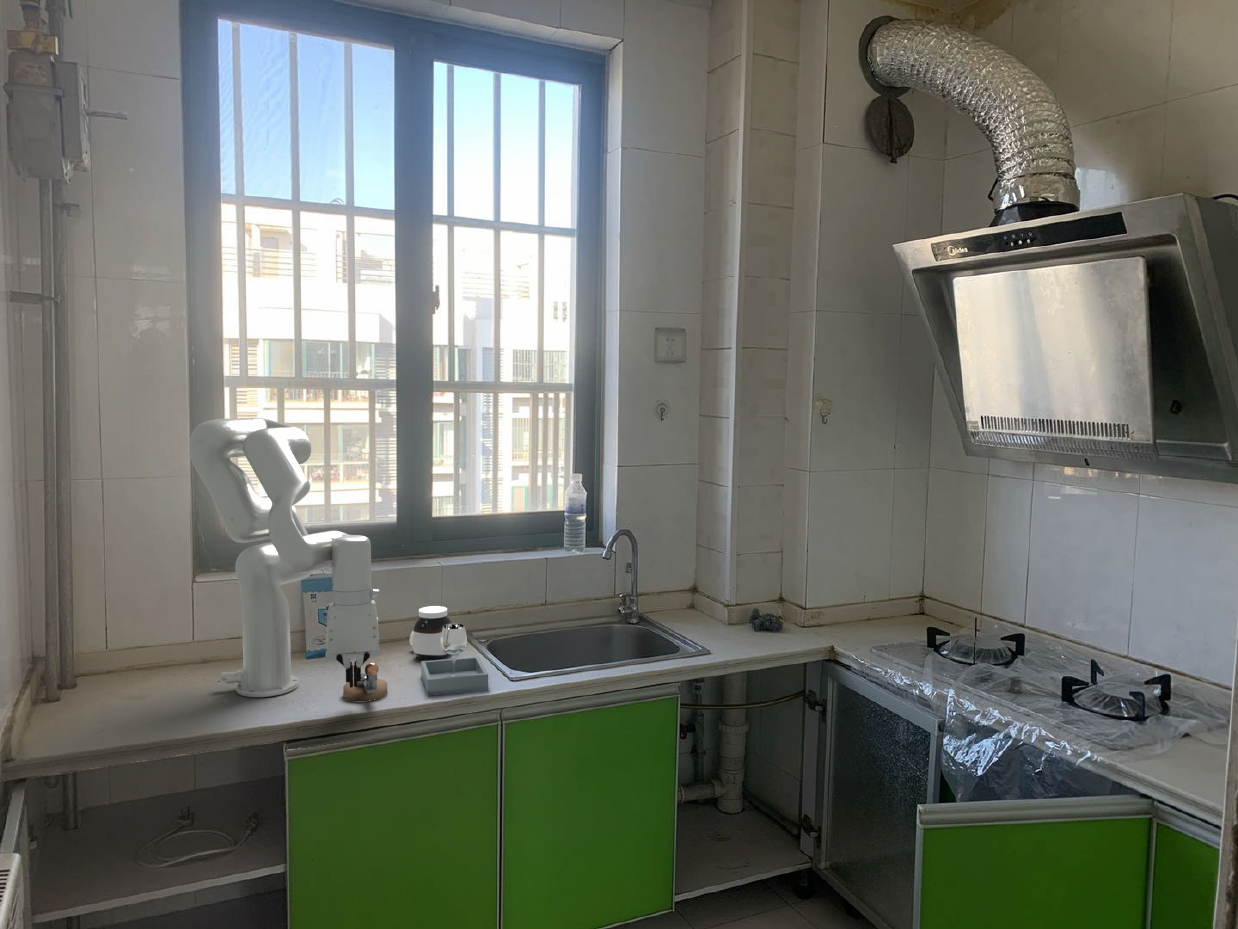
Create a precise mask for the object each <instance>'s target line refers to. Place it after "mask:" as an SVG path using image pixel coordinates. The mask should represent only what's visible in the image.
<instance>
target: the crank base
mask: <svg viewBox="0 0 1238 929" xmlns="http://www.w3.org/2000/svg"><path fill="white" fill-rule="evenodd" d="M342 688H343V693H342V694H343V699H344V700H346V699H347V700H346V701H348V700H350V701H349V702H352V701H369V700H374V699H378V700H381V699H383V698H385V697H386V696H387V695H388V682H387V681H386V680H384V679H380V678H377V689H376V693H369V694H367V692H366V691H365V689H364V687H358V686H357V687H354V680H353V687H352V688H350V682H347V683H346V682H345V684H344V685H343V687H342ZM386 694H387V695H386ZM385 695H386V696H385ZM384 696H385V697H384ZM382 697H383V698H382ZM380 698H381V699H380ZM374 701H375V700H374ZM369 702H370V701H369Z"/></svg>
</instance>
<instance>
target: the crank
mask: <svg viewBox="0 0 1238 929" xmlns="http://www.w3.org/2000/svg"><path fill="white" fill-rule="evenodd" d="M363 670H364V673H361V681H358V682H357V686H358V687H364V689H365V691H366V692H367V694H369V693H376V689H377V679H378V673H379V665H378V664H377V663H376V662H373V661H372V662H371V661H370V662H368V663H367V664H366V665H365V666H364V669H363Z"/></svg>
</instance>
